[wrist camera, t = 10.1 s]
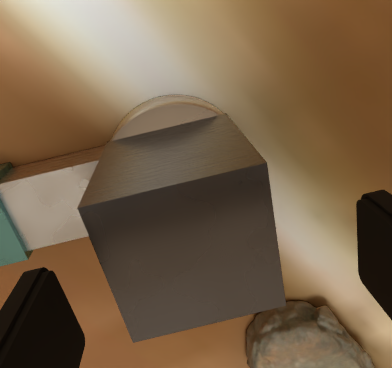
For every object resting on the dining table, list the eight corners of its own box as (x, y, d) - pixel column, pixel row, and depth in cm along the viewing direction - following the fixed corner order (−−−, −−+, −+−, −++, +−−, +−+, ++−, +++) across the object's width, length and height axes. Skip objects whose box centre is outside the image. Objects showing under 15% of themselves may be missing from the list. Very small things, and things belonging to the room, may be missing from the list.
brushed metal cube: (226, 113, 15) (267, 162, 9) (244, 216, 17) (286, 305, 11) (107, 141, 15) (77, 208, 9) (140, 241, 17) (133, 342, 11)
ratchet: (230, 79, 17) (275, 110, 10) (251, 204, 19) (296, 288, 13) (-105, 159, 16) (-270, 241, 10) (-33, 273, 19) (-126, 391, 13)
